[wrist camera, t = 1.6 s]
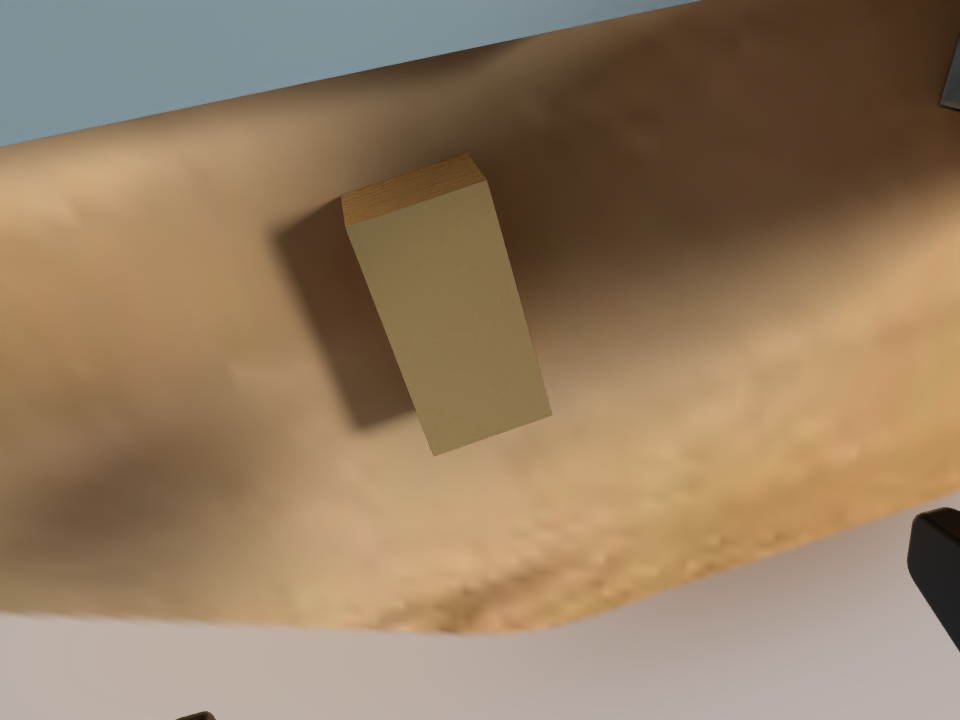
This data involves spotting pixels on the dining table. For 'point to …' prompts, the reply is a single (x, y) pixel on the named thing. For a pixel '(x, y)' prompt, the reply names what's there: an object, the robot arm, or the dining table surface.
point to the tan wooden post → (448, 301)
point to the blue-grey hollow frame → (234, 48)
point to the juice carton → (952, 84)
